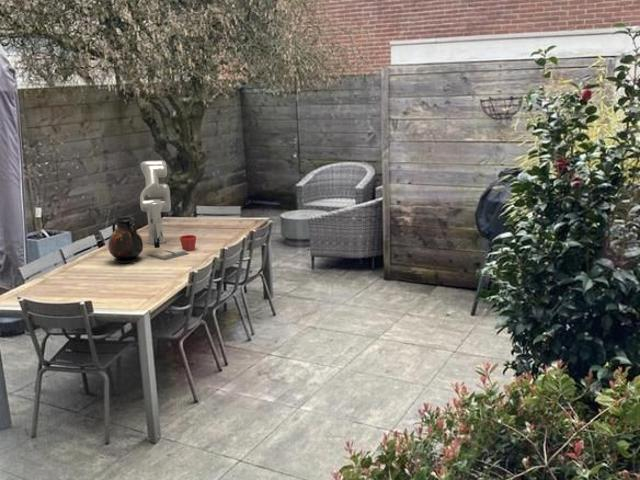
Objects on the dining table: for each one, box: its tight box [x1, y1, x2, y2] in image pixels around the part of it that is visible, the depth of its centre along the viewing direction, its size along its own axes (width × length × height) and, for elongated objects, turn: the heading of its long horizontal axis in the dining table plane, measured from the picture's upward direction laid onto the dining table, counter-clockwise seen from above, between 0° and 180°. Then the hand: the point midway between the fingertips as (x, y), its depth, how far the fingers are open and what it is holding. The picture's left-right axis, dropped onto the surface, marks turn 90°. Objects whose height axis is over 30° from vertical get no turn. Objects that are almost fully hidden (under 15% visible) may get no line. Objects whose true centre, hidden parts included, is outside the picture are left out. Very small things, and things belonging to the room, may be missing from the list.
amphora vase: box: [107, 216, 144, 265], centre depth 384 cm, size 22×22×28 cm
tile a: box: [166, 247, 186, 256], centre depth 403 cm, size 2×8×10 cm
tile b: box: [152, 250, 172, 260], centre depth 396 cm, size 2×8×10 cm
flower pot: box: [179, 234, 197, 252], centre depth 412 cm, size 11×11×10 cm
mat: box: [146, 250, 190, 261], centre depth 400 cm, size 20×21×1 cm
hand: (157, 247), depth 398 cm, fingers closed
